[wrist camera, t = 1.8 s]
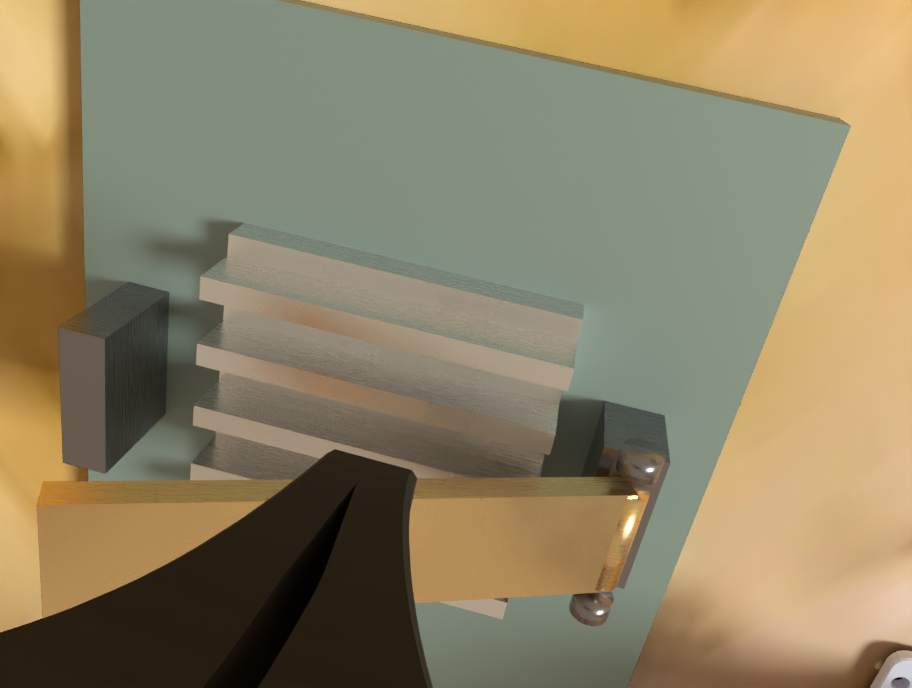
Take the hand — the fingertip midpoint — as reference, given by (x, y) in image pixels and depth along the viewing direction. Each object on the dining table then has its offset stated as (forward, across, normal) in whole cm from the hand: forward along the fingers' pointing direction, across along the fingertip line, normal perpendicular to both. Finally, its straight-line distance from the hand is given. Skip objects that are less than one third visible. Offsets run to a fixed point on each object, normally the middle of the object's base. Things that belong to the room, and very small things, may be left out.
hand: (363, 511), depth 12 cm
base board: (+10, +1, +4) cm, 11 cm away
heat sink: (+9, +2, +4) cm, 10 cm away
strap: (+4, +1, +4) cm, 6 cm away
